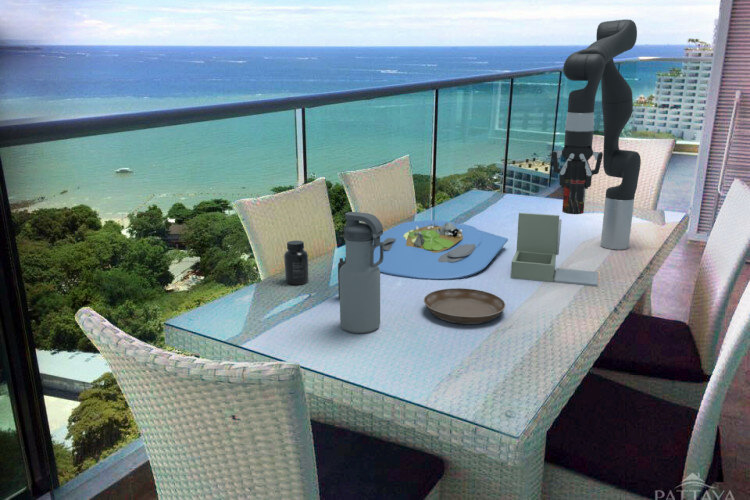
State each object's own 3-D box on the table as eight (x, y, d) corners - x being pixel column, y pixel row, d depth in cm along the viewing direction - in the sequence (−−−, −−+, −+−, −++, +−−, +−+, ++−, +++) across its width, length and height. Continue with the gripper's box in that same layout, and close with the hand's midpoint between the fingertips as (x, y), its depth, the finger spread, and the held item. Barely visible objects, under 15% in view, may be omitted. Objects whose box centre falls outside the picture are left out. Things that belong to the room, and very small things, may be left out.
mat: (556, 269, 196) (556, 267, 196) (597, 273, 192) (597, 271, 192) (554, 282, 185) (554, 280, 185) (597, 286, 182) (597, 284, 181)
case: (515, 265, 201) (519, 212, 196) (557, 268, 197) (562, 215, 192) (510, 277, 189) (514, 222, 184) (555, 282, 185) (559, 225, 180)
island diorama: (463, 305, 183) (463, 266, 178) (337, 279, 203) (334, 243, 198) (514, 247, 218) (515, 213, 213) (403, 229, 238) (401, 198, 233)
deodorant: (584, 214, 181) (588, 162, 177) (562, 213, 182) (566, 161, 178) (582, 209, 187) (586, 158, 182) (561, 209, 188) (565, 158, 183)
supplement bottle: (312, 279, 188) (311, 240, 185) (302, 286, 182) (301, 246, 179) (291, 276, 191) (290, 238, 187) (281, 284, 184) (279, 244, 181)
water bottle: (388, 322, 157) (388, 211, 149) (371, 337, 148) (370, 221, 141) (351, 316, 161) (349, 208, 153) (333, 330, 153) (330, 216, 145)
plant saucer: (486, 296, 175) (487, 284, 174) (518, 324, 156) (519, 312, 155) (414, 302, 171) (414, 290, 170) (437, 332, 152) (438, 319, 151)
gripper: (606, 127, 178) (601, 186, 183) (553, 126, 183) (550, 184, 188) (606, 130, 172) (600, 191, 177) (551, 129, 176) (547, 189, 181)
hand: (574, 187), depth 182 cm, fingers closed on deodorant, 6 cm apart
